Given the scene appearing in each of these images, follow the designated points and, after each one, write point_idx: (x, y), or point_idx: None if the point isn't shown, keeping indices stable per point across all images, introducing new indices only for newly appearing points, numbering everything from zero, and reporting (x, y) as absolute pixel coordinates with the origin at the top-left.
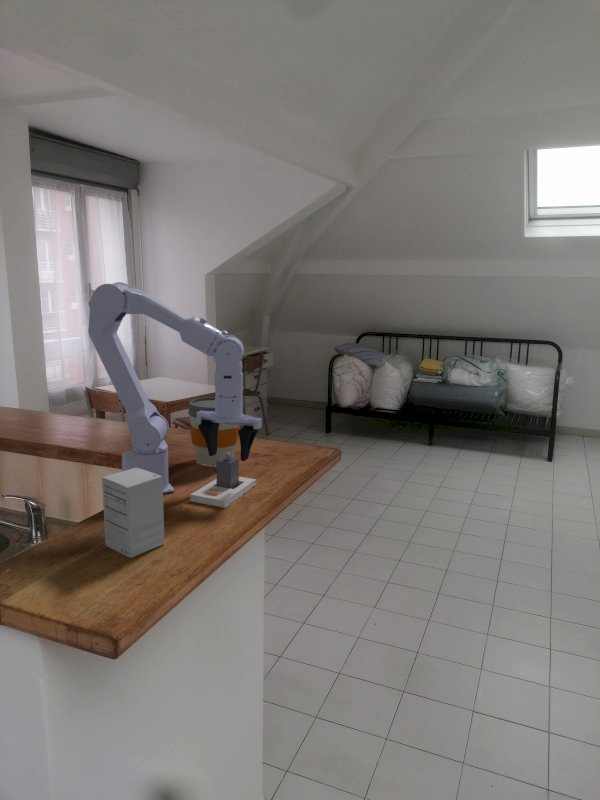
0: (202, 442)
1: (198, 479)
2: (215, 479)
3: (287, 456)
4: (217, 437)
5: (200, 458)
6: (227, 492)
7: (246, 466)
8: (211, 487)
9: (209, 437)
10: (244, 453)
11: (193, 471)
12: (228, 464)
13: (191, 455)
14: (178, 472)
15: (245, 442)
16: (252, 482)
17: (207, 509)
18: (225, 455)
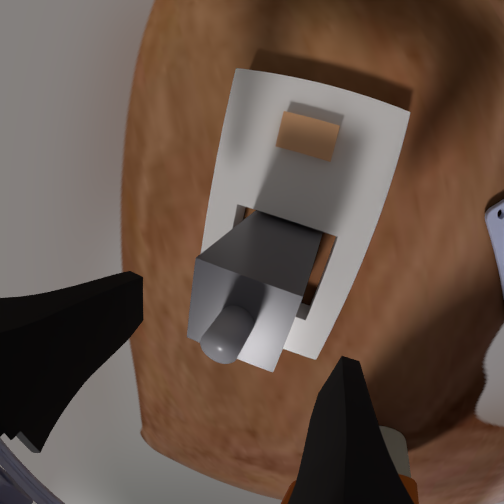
0: None
1: (407, 346)
2: (339, 307)
3: (204, 448)
4: None
5: (397, 446)
6: (251, 159)
7: (273, 425)
8: (339, 212)
9: (340, 475)
10: (87, 282)
11: (420, 398)
12: (216, 259)
13: (412, 464)
14: (461, 386)
15: (13, 301)
16: None
17: (308, 46)
18: (233, 331)
